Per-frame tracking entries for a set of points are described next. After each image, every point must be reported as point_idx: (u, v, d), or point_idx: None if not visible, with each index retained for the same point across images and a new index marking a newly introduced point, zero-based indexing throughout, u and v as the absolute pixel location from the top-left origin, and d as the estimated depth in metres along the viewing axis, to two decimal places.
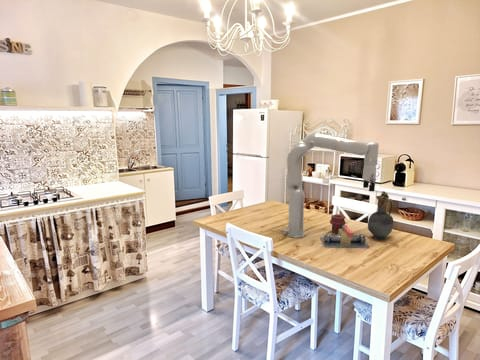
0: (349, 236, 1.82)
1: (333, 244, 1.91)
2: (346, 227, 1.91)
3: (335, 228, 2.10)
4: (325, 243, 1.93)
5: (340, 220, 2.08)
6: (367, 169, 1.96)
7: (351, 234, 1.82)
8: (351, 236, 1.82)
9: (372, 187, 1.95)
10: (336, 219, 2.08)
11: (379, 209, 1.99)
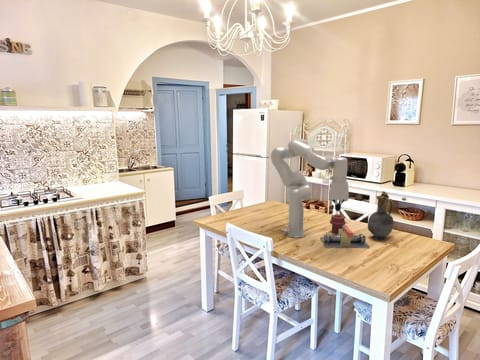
0: (349, 236, 1.82)
1: (333, 244, 1.91)
2: (346, 227, 1.91)
3: (335, 228, 2.10)
4: (325, 243, 1.93)
5: (340, 220, 2.08)
6: (345, 187, 1.79)
7: (351, 234, 1.82)
8: (351, 236, 1.82)
9: None
10: (336, 219, 2.08)
11: (379, 209, 1.99)
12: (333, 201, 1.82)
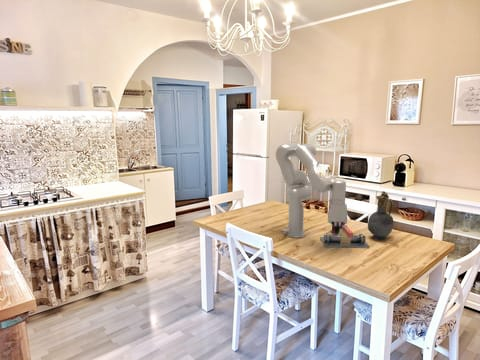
0: (349, 236, 1.82)
1: (333, 244, 1.91)
2: (346, 227, 1.91)
3: None
4: (325, 243, 1.93)
5: None
6: (343, 209, 1.81)
7: (351, 234, 1.82)
8: (351, 236, 1.82)
9: None
10: None
11: (379, 209, 1.99)
12: (332, 223, 1.85)
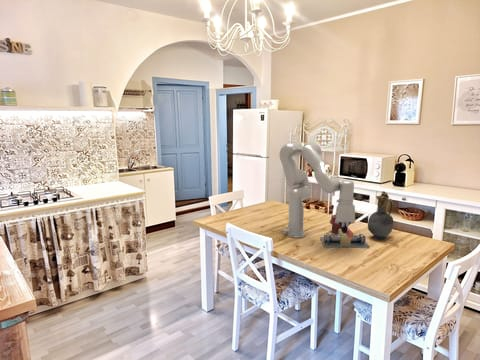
0: (349, 236, 1.82)
1: (333, 244, 1.91)
2: None
3: (335, 228, 2.10)
4: (325, 243, 1.93)
5: None
6: (351, 210, 1.81)
7: (351, 234, 1.82)
8: (351, 236, 1.82)
9: None
10: None
11: (379, 209, 1.99)
12: (340, 223, 1.85)
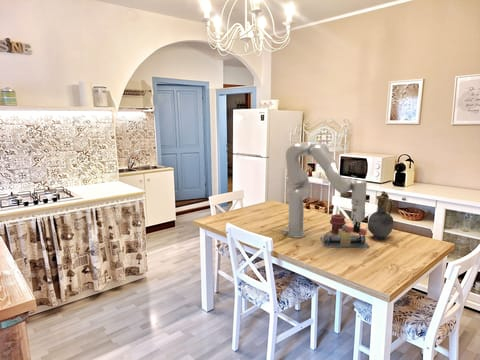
0: (365, 234, 1.86)
1: (333, 244, 1.91)
2: (349, 226, 1.92)
3: (335, 228, 2.10)
4: (325, 243, 1.93)
5: (340, 220, 2.08)
6: (364, 208, 1.85)
7: (366, 231, 1.86)
8: None
9: None
10: (336, 219, 2.08)
11: (379, 209, 1.99)
12: (356, 224, 1.83)
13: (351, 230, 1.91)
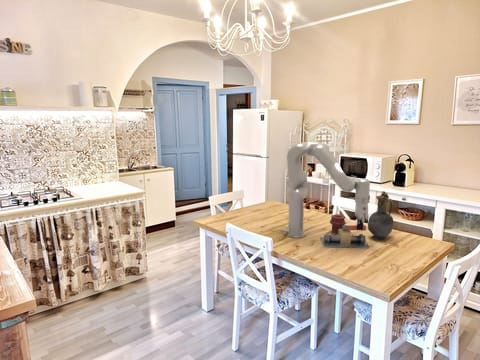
0: None
1: (333, 244, 1.91)
2: (349, 225, 1.94)
3: (335, 228, 2.10)
4: (325, 243, 1.93)
5: (340, 220, 2.08)
6: None
7: None
8: None
9: None
10: (336, 219, 2.08)
11: (379, 209, 1.99)
12: None
13: (352, 228, 1.93)
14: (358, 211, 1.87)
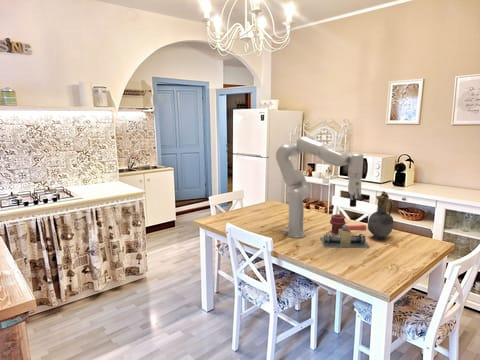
0: None
1: (333, 244, 1.91)
2: (349, 225, 1.94)
3: (335, 228, 2.10)
4: (325, 243, 1.93)
5: (340, 220, 2.08)
6: None
7: None
8: None
9: None
10: (336, 219, 2.08)
11: (379, 209, 1.99)
12: (356, 198, 1.81)
13: (352, 228, 1.93)
14: (351, 187, 1.80)
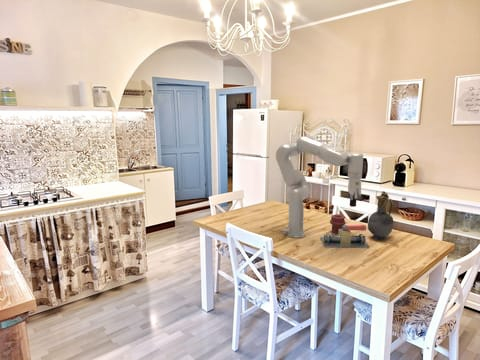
0: None
1: (333, 244, 1.91)
2: (349, 225, 1.94)
3: (335, 228, 2.10)
4: (325, 243, 1.93)
5: (340, 220, 2.08)
6: None
7: None
8: None
9: None
10: (336, 219, 2.08)
11: (379, 209, 1.99)
12: (356, 198, 1.81)
13: (352, 228, 1.93)
14: (351, 186, 1.80)
